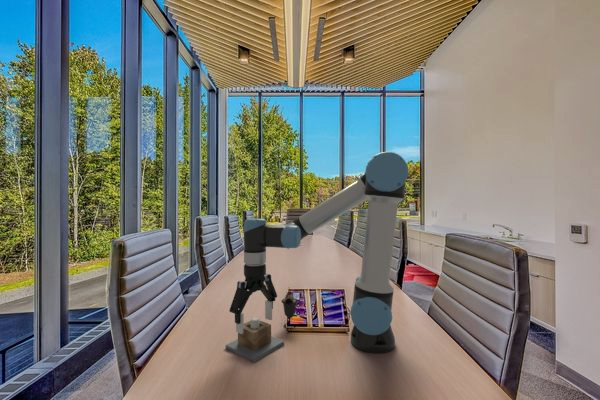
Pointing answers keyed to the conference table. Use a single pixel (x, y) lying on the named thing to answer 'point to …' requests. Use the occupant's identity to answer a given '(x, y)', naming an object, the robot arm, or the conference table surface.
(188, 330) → the conference table surface
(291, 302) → the sundae
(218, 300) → the conference table surface
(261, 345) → the collar
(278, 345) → the post stand
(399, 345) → the conference table surface
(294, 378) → the conference table surface
